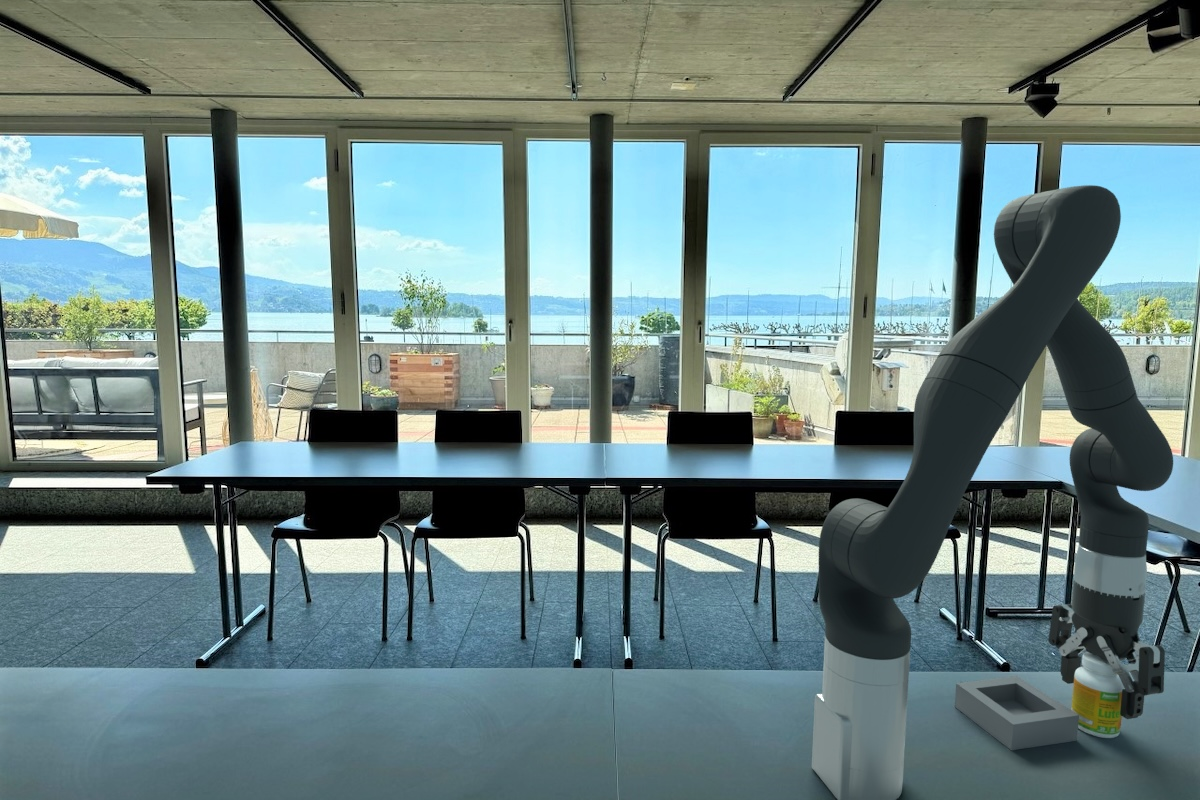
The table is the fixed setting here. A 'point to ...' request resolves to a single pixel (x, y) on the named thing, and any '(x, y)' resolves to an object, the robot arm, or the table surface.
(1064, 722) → the socket mount
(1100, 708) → the supplement bottle
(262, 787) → the table surface
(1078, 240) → the robot arm
